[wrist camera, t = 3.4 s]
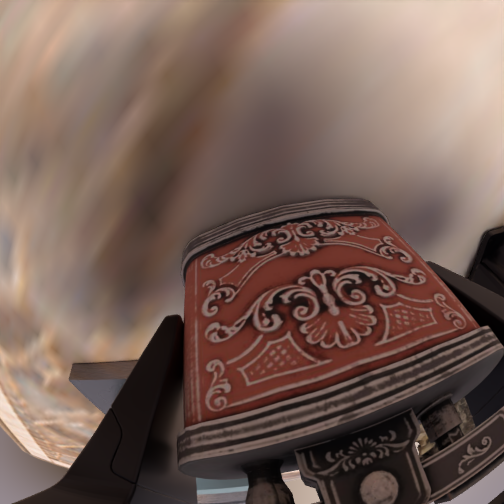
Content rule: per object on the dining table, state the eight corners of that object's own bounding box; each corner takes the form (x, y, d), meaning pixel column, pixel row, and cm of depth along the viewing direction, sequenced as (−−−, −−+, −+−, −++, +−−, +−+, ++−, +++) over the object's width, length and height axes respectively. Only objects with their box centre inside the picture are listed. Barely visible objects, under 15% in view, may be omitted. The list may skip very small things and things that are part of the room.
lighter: (197, 301, 12) (219, 562, 3) (169, 232, 10) (155, 580, 2) (377, 256, 12) (504, 454, 4) (381, 185, 10) (576, 399, 2)
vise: (232, 348, 14) (249, 460, 9) (267, 459, 29) (276, 500, 24) (72, 364, 14) (54, 454, 9) (191, 467, 28) (195, 508, 23)
